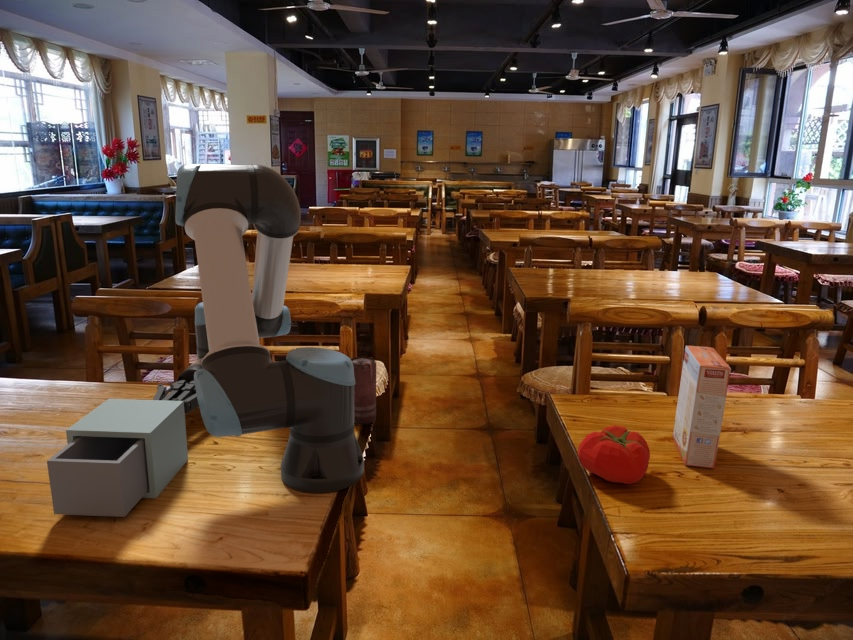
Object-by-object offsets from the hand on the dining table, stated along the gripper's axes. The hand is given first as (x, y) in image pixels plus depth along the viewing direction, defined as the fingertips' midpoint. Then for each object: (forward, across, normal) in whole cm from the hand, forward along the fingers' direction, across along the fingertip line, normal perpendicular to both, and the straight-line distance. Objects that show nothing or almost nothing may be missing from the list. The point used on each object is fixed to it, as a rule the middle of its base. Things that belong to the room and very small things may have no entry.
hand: (154, 421), depth 122 cm
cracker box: (-8, -107, -7) cm, 107 cm away
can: (-19, -38, -7) cm, 43 cm away
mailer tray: (+12, 0, -5) cm, 13 cm away
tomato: (+4, -88, -7) cm, 88 cm away
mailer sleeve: (+10, 0, -6) cm, 12 cm away
